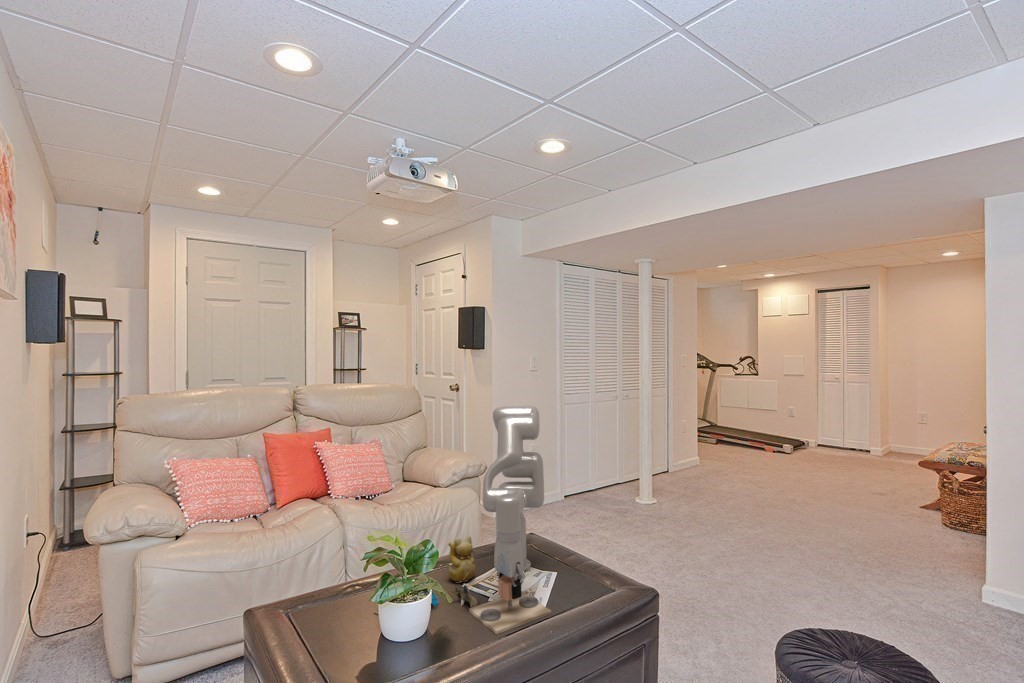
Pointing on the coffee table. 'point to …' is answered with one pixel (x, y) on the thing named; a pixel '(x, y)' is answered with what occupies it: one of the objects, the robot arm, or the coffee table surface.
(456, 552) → the decorative figurine
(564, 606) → the coffee table surface
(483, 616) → the board
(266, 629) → the coffee table surface
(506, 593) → the gear wheel
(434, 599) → the gear
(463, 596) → the eagle figurine
